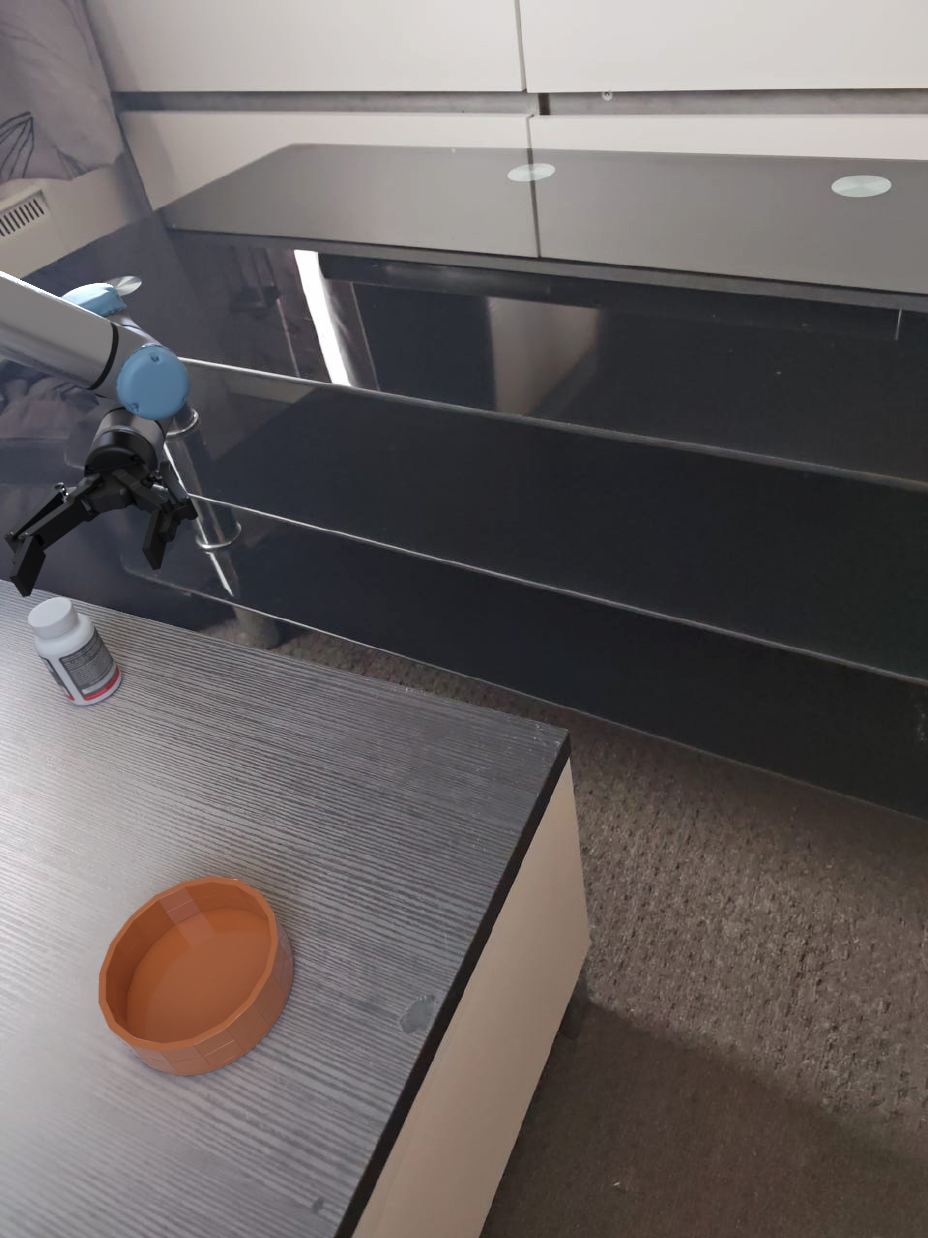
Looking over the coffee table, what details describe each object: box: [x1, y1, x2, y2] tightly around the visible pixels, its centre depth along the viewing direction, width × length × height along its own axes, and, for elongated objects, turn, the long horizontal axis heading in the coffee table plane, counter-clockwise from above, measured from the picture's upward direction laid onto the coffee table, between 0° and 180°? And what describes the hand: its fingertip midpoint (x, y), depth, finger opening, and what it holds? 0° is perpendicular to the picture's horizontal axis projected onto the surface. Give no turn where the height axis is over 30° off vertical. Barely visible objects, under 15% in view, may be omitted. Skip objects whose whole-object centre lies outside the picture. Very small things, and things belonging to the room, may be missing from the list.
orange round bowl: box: [97, 875, 295, 1077], centre depth 62 cm, size 12×12×4 cm
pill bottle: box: [27, 596, 122, 706], centre depth 85 cm, size 5×5×10 cm
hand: (85, 573), depth 90 cm, fingers open, 13 cm apart
